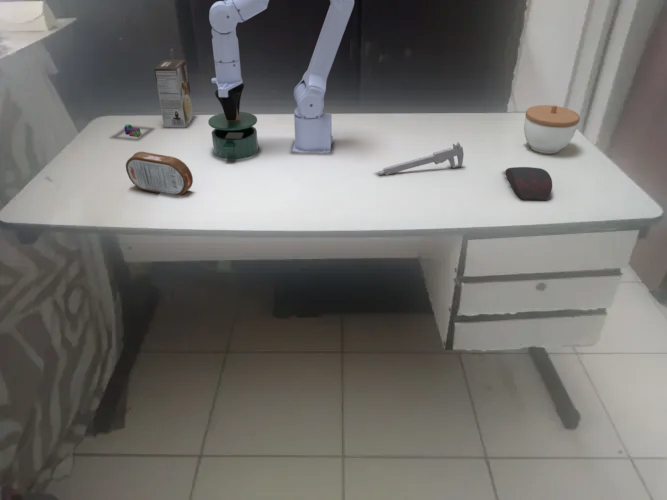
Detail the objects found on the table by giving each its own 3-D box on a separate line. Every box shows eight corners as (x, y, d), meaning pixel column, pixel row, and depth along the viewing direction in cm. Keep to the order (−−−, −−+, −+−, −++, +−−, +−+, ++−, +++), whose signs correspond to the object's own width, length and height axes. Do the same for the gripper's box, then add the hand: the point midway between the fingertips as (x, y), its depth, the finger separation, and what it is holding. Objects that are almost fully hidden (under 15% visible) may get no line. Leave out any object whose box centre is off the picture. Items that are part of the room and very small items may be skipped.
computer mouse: (514, 200, 116) (518, 183, 114) (501, 172, 128) (504, 156, 126) (553, 201, 116) (557, 184, 114) (536, 173, 127) (540, 157, 125)
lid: (260, 116, 137) (259, 94, 134) (253, 133, 128) (251, 110, 125) (214, 115, 138) (212, 93, 135) (203, 132, 128) (200, 109, 125)
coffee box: (172, 116, 158) (163, 59, 149) (194, 116, 158) (186, 59, 149) (163, 127, 150) (153, 68, 142) (186, 128, 150) (177, 68, 142)
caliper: (459, 165, 131) (463, 141, 127) (461, 167, 130) (465, 142, 126) (378, 174, 127) (379, 148, 123) (379, 176, 126) (380, 150, 123)
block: (245, 147, 138) (244, 132, 136) (242, 154, 135) (241, 138, 133) (229, 147, 138) (228, 132, 136) (226, 153, 135) (224, 138, 133)
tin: (196, 193, 118) (190, 157, 114) (188, 200, 116) (182, 163, 111) (136, 183, 122) (129, 148, 118) (128, 189, 120) (119, 153, 115)
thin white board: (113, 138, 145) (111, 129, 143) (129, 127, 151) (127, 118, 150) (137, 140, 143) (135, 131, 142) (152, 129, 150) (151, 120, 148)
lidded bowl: (560, 138, 145) (570, 97, 139) (579, 158, 135) (591, 114, 129) (512, 138, 145) (521, 97, 139) (528, 158, 134) (538, 114, 128)
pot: (262, 140, 143) (261, 120, 140) (252, 166, 130) (250, 145, 127) (221, 139, 144) (219, 119, 141) (207, 165, 130) (204, 144, 127)
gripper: (216, 51, 131) (222, 107, 138) (201, 68, 119) (209, 128, 126) (246, 52, 130) (250, 107, 138) (234, 68, 118) (239, 128, 126)
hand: (232, 117), depth 132 cm, fingers closed on lid, 2 cm apart
